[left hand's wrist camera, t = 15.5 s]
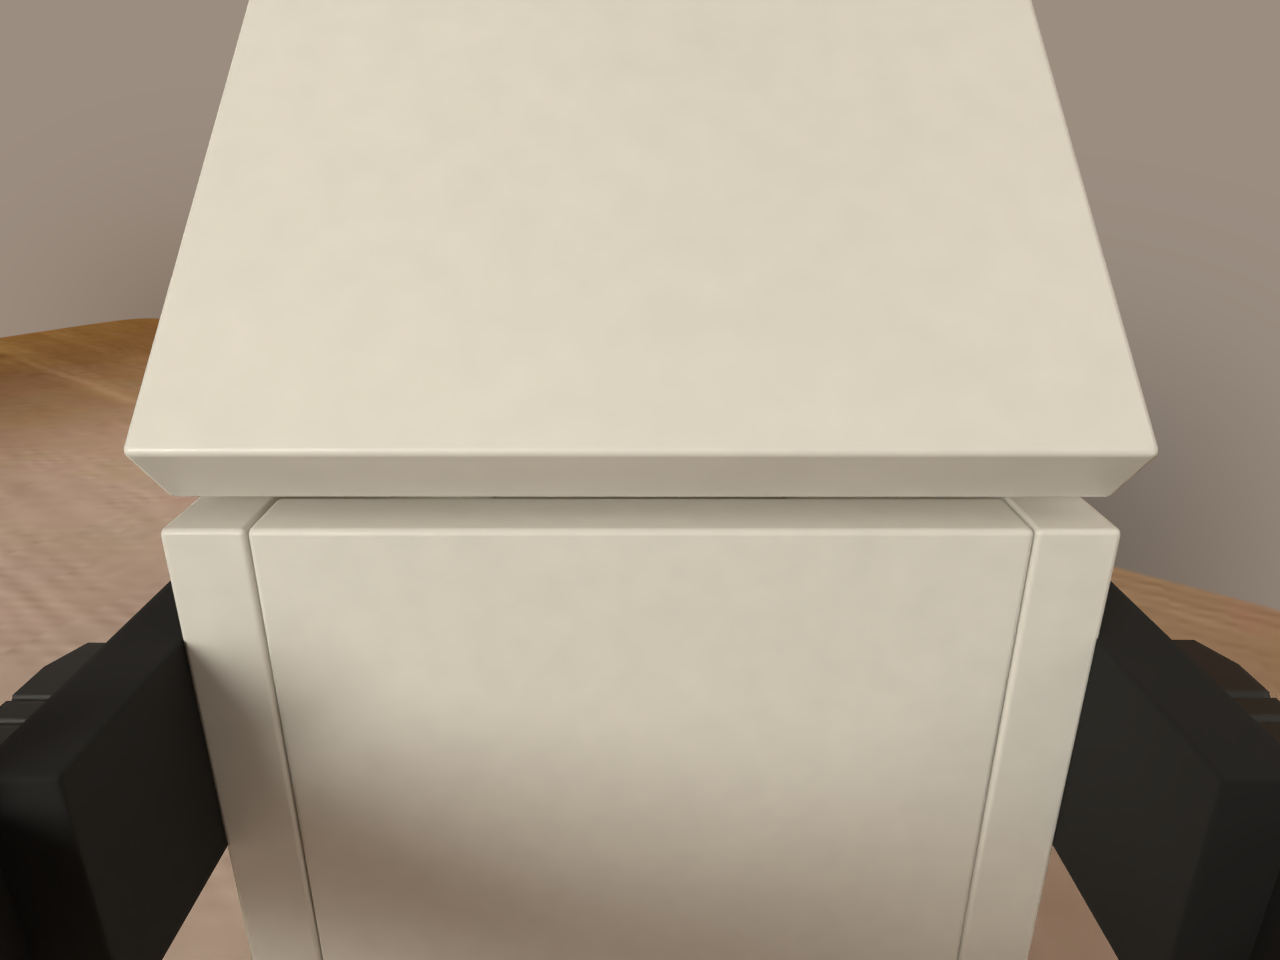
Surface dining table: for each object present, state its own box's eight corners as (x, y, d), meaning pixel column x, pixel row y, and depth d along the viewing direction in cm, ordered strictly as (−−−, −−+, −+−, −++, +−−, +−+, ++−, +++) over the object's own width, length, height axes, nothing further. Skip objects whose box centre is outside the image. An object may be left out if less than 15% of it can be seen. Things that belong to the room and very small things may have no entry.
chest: (474, 601, 26) (450, 282, 22) (802, 601, 26) (827, 283, 22) (289, 1143, 12) (156, 530, 9) (990, 1141, 12) (1124, 530, 9)
